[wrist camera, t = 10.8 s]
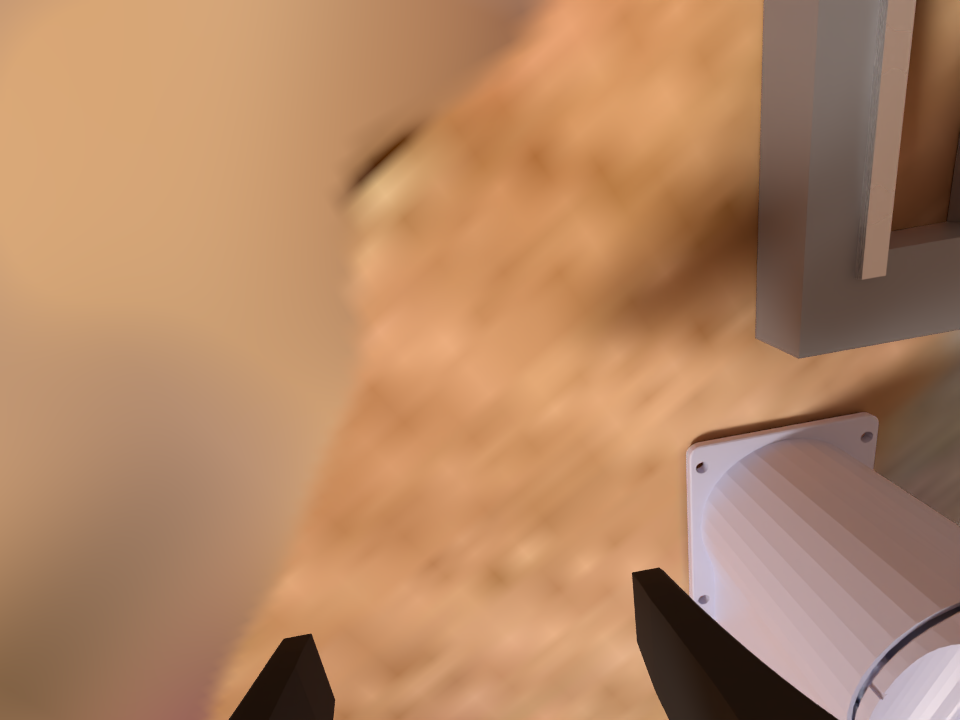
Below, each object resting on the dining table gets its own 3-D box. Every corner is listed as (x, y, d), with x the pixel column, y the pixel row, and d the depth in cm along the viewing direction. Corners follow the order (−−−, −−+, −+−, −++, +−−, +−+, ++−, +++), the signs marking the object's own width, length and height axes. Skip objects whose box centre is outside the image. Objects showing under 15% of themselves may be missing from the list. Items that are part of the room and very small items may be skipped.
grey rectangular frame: (1001, 293, 20) (1087, 310, 17) (755, 338, 20) (804, 361, 17) (1086, -157, 15) (1222, -228, 13) (766, -106, 15) (836, -169, 12)
